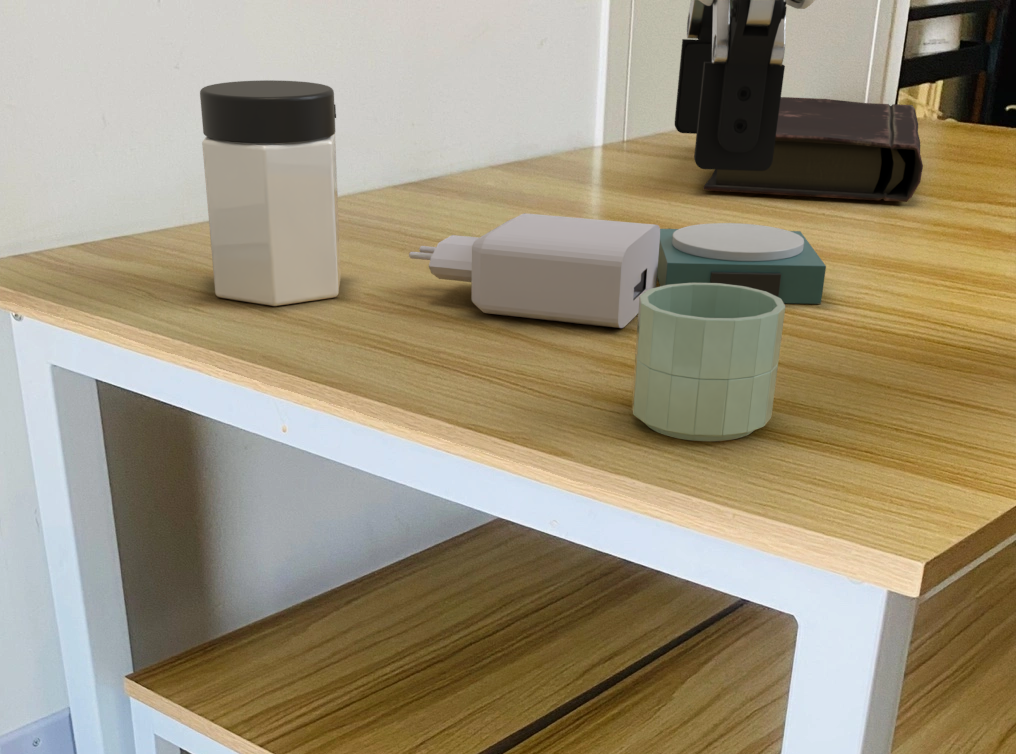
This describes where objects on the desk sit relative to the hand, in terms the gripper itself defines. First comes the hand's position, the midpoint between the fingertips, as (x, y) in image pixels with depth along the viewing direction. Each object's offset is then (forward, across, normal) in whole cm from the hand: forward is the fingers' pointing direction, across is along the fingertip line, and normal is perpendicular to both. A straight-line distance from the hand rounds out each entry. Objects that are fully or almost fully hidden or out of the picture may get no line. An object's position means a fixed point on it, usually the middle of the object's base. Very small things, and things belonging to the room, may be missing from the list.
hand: (718, 149), depth 62 cm
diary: (+12, +69, -18) cm, 72 cm away
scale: (+12, +28, -6) cm, 31 cm away
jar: (+13, +24, +24) cm, 37 cm away
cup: (+13, 0, -1) cm, 13 cm away
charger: (+13, +22, +8) cm, 27 cm away
